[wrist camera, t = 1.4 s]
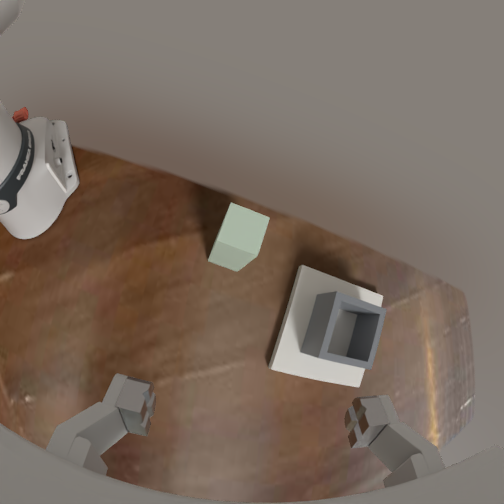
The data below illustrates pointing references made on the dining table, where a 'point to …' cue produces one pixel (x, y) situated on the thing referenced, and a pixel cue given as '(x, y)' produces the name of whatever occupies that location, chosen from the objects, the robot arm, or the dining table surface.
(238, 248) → the sage block
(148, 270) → the dining table surface
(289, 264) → the dining table surface
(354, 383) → the well stand
